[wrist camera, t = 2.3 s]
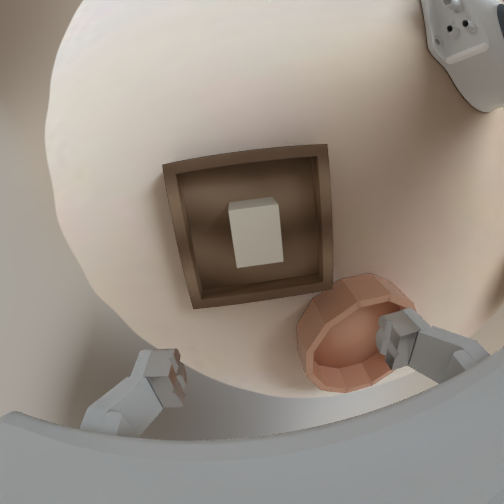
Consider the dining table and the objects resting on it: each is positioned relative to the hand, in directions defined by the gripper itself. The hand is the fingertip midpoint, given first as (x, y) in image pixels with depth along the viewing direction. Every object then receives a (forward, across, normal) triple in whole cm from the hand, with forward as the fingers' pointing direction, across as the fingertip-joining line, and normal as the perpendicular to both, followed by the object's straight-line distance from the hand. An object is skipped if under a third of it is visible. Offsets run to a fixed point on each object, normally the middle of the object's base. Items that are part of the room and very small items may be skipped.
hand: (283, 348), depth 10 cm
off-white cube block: (+17, 0, 0) cm, 17 cm away
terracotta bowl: (+18, -11, +15) cm, 26 cm away
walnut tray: (+18, 0, 0) cm, 18 cm away
